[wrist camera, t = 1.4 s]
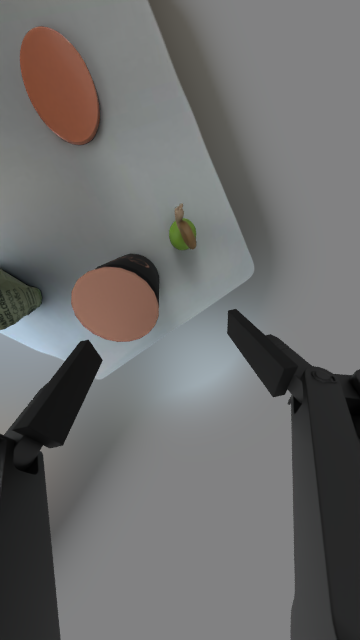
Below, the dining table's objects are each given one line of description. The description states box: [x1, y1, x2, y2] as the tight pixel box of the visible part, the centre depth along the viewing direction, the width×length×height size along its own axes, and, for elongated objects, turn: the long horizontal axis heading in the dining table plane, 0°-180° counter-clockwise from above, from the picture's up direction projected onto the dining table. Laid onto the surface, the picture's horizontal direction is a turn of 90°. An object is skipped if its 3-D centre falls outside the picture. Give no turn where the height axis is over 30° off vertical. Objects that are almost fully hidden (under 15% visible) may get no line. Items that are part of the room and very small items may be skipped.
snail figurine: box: [169, 203, 196, 250], centre depth 24 cm, size 5×6×12 cm
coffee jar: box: [71, 254, 159, 342], centre depth 25 cm, size 11×11×18 cm
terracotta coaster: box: [20, 26, 100, 145], centre depth 19 cm, size 9×9×1 cm
